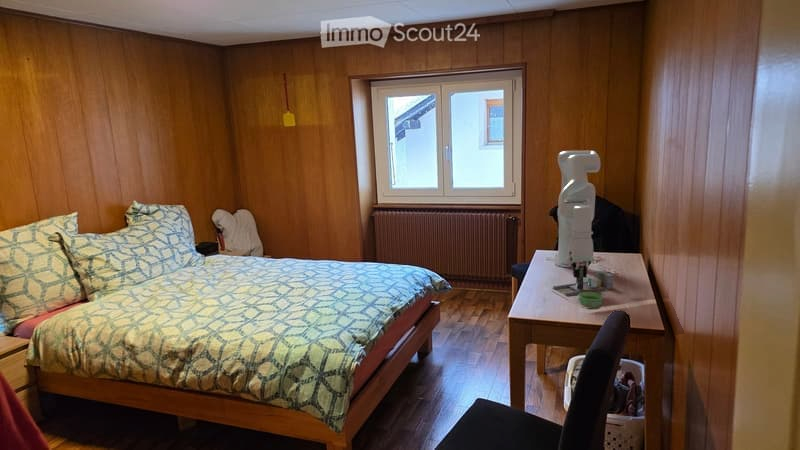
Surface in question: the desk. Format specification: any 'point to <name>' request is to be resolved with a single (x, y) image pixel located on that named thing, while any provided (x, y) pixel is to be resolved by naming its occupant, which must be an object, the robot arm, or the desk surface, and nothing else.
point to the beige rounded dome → (598, 283)
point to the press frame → (606, 285)
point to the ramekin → (590, 299)
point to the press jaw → (584, 280)
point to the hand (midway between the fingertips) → (579, 276)
